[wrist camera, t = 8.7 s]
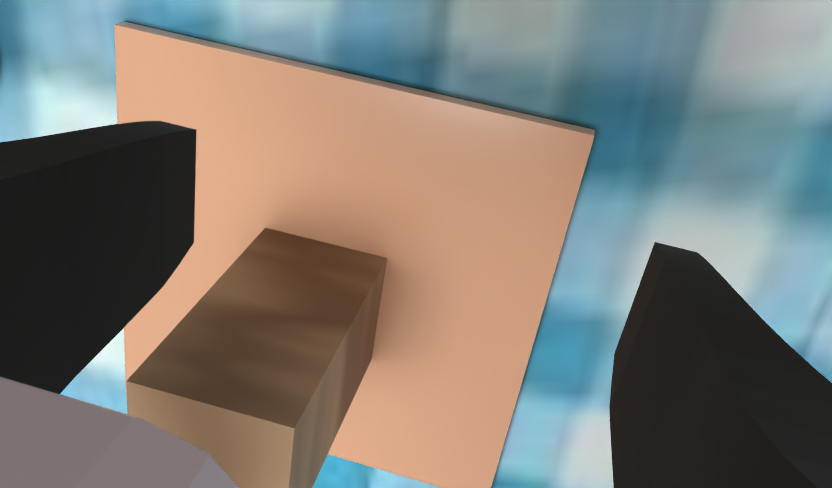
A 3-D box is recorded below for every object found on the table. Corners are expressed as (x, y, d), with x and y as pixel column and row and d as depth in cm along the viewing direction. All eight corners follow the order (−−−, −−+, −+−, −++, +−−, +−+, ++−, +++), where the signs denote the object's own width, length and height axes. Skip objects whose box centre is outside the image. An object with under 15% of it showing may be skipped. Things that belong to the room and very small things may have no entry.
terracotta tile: (594, 130, 21) (594, 135, 20) (489, 490, 28) (487, 500, 27) (124, 21, 23) (114, 24, 22) (133, 386, 29) (126, 395, 29)
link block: (387, 257, 24) (294, 428, 17) (371, 359, 26) (282, 550, 19) (265, 227, 24) (125, 381, 17) (258, 330, 26) (131, 505, 19)
